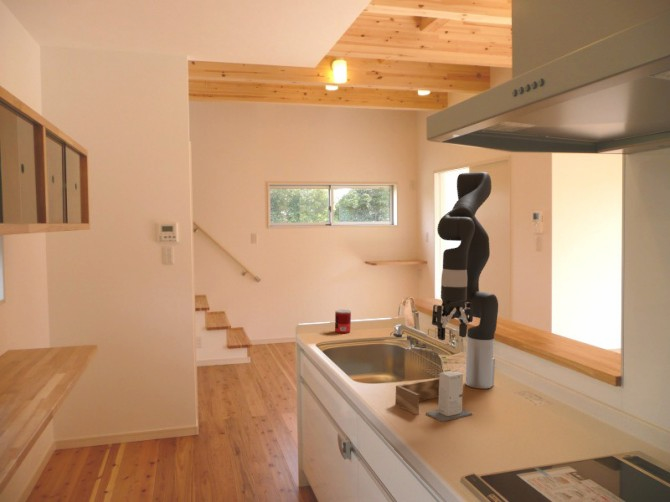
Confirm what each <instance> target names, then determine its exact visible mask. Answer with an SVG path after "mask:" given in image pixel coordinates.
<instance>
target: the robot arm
mask: <svg viewBox="0 0 670 502" xmlns="http://www.w3.org/2000/svg"><path fill="white" fill-rule="evenodd" d="M456 192H457V199H458V200H457V201H456V202H455V204H454V205H453V207H452V208H451V210H450V211H448V212H447V213H445V214H444V215H443V216H442V217H440V220H439V222H438V224H437V227H436V229H437V235H438V236H439V237H440V239H442V240H443V241H456V242H457V241H459V242H460V243H459V245H458V246H457V247H452V248H447V249H444V251H443V253H442V254H443V255H442V271H441V279H440V280H441V281H440V283H441V285H440V299H441V300H442V303H441V304H440V305H439V304H434V305H433V306H432V317H431V320H432V321H431V325H433V326H437V336H436V337H437V339H438V340H440V341H445V340H446V328H445V327H446V325H447V324H448V323H449V322H450V321H451V320H453V319H457V320H458V322H459V327H458V331H459V333H458V336H459V337H461V338H465V337H466V354H465V355H466V359H465V377H464V378H465V382H464V383H465V385H466V386H468V387H470V388H474V389H481V390H482V389H490V388H492V387H493V386H494V385H495V368H496V367H495V366H496V359H495V358H494V351H495V350H494V348H495V347H494V345H495V343H494V342H495V334H496V330H497V324H498V323H497V322H498V314H499V313H498V312H499V299H498V297H497V296H496V295H495V294H494V293H489V292H484V291H480V286H479V285H480V277H481V274H482V271H483V270H484V269H485V266H486V265H487V262H488V261H489V258H490V256H491V255H490V250H491V249H490V238H489V235H488V232H487V230H486V229H485V228H484V227H483V225H482V224H481V222H480V221H479V220H478V219H477V217H476V213H477V211H478V210H479V209H480V208H481V206H483V204H484V203H485V202H486V201H487V200H488V198H489V197H490V195H491V192H492V178H491V176H490V174H489V172H486V171H476V172H473V171H472V172H464V173H459V174H458V175H457V179H456ZM474 318H476V319H477V318H478V319H480V320H479V324H478V325H476V326H471V327H468V325H469V323H473V322H474Z"/></svg>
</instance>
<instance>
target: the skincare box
mask: <svg viewBox="0 0 670 502" xmlns="http://www.w3.org/2000/svg"><path fill="white" fill-rule="evenodd" d="M438 378H439V397H438V402H437V403H438V407H437V408H438V409H437V410H438V412H439V413H441V414H443V415H445V416H451V415H456V414H460V413H462V409H463V390H464V388H463V386H464V385H463V384H464V373H462V372H458V371H457V370H456V371H455V370H450V371H449V370H448V371H443V372H439V377H438Z"/></svg>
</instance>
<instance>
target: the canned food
mask: <svg viewBox="0 0 670 502" xmlns="http://www.w3.org/2000/svg"><path fill="white" fill-rule="evenodd" d="M351 311H352V310H350V309H336V310H335V312H334V313H335V314H334V316H335V317H334V318H335V319H334V331H335V333H337V334H340V335H341V334H342V335H345V334H350V333H351V323H352V321H351V319H352V312H351Z"/></svg>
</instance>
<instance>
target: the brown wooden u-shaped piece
mask: <svg viewBox="0 0 670 502" xmlns="http://www.w3.org/2000/svg"><path fill="white" fill-rule="evenodd" d="M434 398H439V377H436V378H432V379H431V378H430V379H425V380H420V381H415V382H409V383H403V384H398V385H396V386H395V401H394V403H395V406H398V407H399V408H401V409H404V410H406V411H407V412H410V413H411V414H414V415H416V416H417V415H419V412H420V411H419V410H420V401H421V402H422V401H425V400H431V399H434Z"/></svg>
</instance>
